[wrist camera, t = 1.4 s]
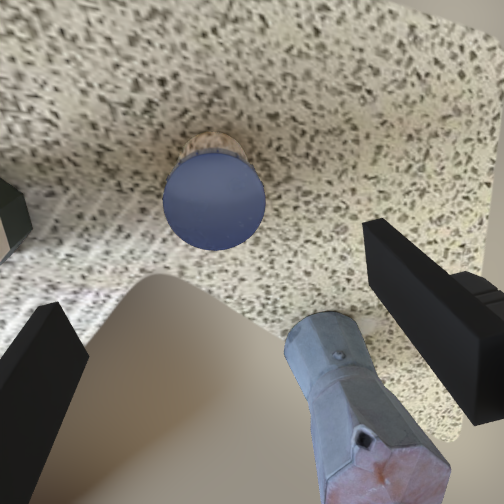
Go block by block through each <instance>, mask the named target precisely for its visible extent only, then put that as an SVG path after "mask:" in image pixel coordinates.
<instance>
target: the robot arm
mask: <svg viewBox="0 0 504 504" xmlns="http://www.w3.org/2000/svg"><path fill="white" fill-rule="evenodd" d="M362 226H363V235H364V244H365V254H366V263H367V273H368V282H369V286H370V287H371V289H372V290H373V291H374V293H375V294H376V295H377V297H378V298H379V299H380V301H381V302H382V303H383V305H384V306H385V307H386V309H387V310H388V311H389V313H390V314H391V315H392V317H393V318H394V319H395V321H396V322H397V323H398V325H399V326H400V327H401V329H402V330H403V331H404V333H405V334H406V336H407V337H408V338H409V340H410V341H411V342H412V344H413V345H414V346H415V348H416V349H417V350H418V352H419V353H420V354H421V356H422V357H423V358H424V360H425V361H426V362H427V364H428V365H429V366H430V368H431V369H432V370H433V372H434V373H435V374H436V376H437V377H438V378H439V380H440V381H441V382H442V384H443V385H444V386H445V388H446V389H447V390H448V392H449V393H450V395H451V396H452V397H453V399H454V400H455V401H456V403H457V404H458V405H459V407H460V408H461V409H462V411H463V412H464V413H465V415H466V416H467V417H468V419H469V420H470V421H471V423H472V424H473V425H474V426H477V425H481V424H485V423H489V422H493V421H497V420H501V419H504V293H503V292H502V291H501V290H499V291H498V289H497V287H495V286H494V285H492V284H491V283H490V282H489V281H487V280H486V279H485V278H483V277H480V276H477V275H475V274H472V273H470V272H467V271H464V272H460V273H456V274H452V275H449V274H448V273H447V272H446V271H445V270H443V269H442V268H441V267H440V266H439V265H438V264H436V263H435V262H434V261H433V260H432V259H430V258H429V257H428V256H427V255H426V254H425V253H423V252H422V251H421V250H420V249H419V248H418V247H416V246H415V245H414V244H413V243H412V242H410V241H409V240H408V239H407V238H406V237H405V236H403V235H402V234H401V233H400V232H399V231H398V230H396V229H395V228H394V227H393V226H392V225H390V224H389V223H388V222H387V221H386V220H385V219H383V218H380V219H376V220H372V221H368V222H364V223H362ZM88 359H89V355H88V353H87V351H86V350H85V348H84V346H83V344H82V343H81V341H80V339H79V337H78V336H77V334H76V332H75V330H74V329H73V327H72V325H71V323H70V322H69V320H68V318H67V316H66V314H65V313H64V311H63V309H62V307H61V306H60V304H59V302H54V303H50V304H46V305H42V306H38V307H37V309H36V310H35V312H34V313H33V314H32V316H31V317H30V318H29V320H28V321H27V323H26V324H25V325H24V327H23V328H22V330H21V331H20V332H19V334H18V335H17V337H16V338H15V339H14V341H13V342H12V343H11V345H10V346H9V348H8V349H7V350H6V352H5V353H4V355H3V356H2V357H1V359H0V504H28V503H29V501H30V499H31V496H32V494H33V492H34V489H35V487H36V484H37V482H38V479H39V477H40V474H41V472H42V470H43V467H44V465H45V463H46V460H47V457H48V455H49V453H50V450H51V448H52V446H53V443H54V441H55V438H56V436H57V434H58V431H59V429H60V426H61V424H62V421H63V419H64V417H65V414H66V412H67V409H68V407H69V405H70V402H71V400H72V397H73V395H74V393H75V390H76V388H77V385H78V383H79V381H80V378H81V376H82V373H83V371H84V368H85V366H86V364H87V361H88Z"/></svg>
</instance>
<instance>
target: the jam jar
mask: <svg viewBox="0 0 504 504" xmlns="http://www.w3.org/2000/svg"><path fill="white" fill-rule="evenodd" d="M217 147H218V148H222V149H227V150H230V151H233V152H235V153H236V152H238V154H239V155H240V156H242V157H243V158H245V159H246V160H247V161H248V159H247V156H246V154H245V152H244V150H243V148H242V147H241V146H240V144H239V143H238V142H237V141H236V140H235V139H233V138H232V137H230V136H228V135H226V134H224V133H220V132H204V133H201V134H198V135H196V136H194V137H193V138H191V139H190V140H189V141H188V142H187V143H186V144H185V145H184V147H183V148H182V150H181V152H180V154H179V157H178V160H177V163H178V162H179V159H182V158H184V157H185V156H187V155H188V154H190V153H192V152H194V151H196V149H198V150H200V149H205V148H217ZM248 162H249V161H248ZM177 163H176V164H177Z"/></svg>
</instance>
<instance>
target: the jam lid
mask: <svg viewBox="0 0 504 504" xmlns="http://www.w3.org/2000/svg"><path fill="white" fill-rule="evenodd" d="M166 181H167V183H166V186H165V189H164V194H163V198H162V200H163V209H164V213H165V217H166V219H167V221H168V224H169V225H170V227H171V228H172V230H173V231H174V232H175V234H177V235H178V236H179V237H180V238H181V239H182V240H183V241H185V242H186V243H188V244H190V245H192V246H194V247H197V248H200V249H204V250H213V251H217V250H225V249H229V248H232V247H235V246H237V245H239V244H241V243H243V242H244V241H246V240H247V239H248V238H250V237H251V236H252V235H253V233H254V232H255V231H256V230H257V228H258V227H259V225H260V223H261V221H262V219H263V216H264V212H265V206H266V200H265V192H264V188H263V187H264V185H263V183H262V181H260V179H259V177H258V174H257V173H256V171H255V168H254V166H253V165H251V164H250V163H249V162H248V161H247V160H246V159H245V158H243V157H242V156H240V155H239V154H238V152H236V153H235V152H233V151H230V150H227V149H222V148H218V147H217V148H205V149H200V150H198V149H196V151H194V152H192V153H190V154H188V155H187V156H185V157H184V158H182V159H179V162H178V163H177V164H176V166H175V167H174V168H173V170H172V171H171V173H170V175H168V177H167V179H166Z"/></svg>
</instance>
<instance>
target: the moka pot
mask: <svg viewBox="0 0 504 504" xmlns="http://www.w3.org/2000/svg"><path fill="white" fill-rule="evenodd" d="M284 355H285V358H286V360H287V362H288V364H289V366H290V368H291V370H292V372H293V374H294V376H295V378H296V380H297V382H298V384H299V386H300V387H301V390H302V392H303V394H304V396H305V398H306V399H307V401H308V403H309V410H310V413H311V434H312V441H313V448H314V455H315V462H316V468H317V475H318V483H319V490H320V497H321V504H441V503H442V501H443V498H444V494H445V491H446V488H447V484H448V481H449V477H450V473H451V467H450V464H449V463H448V462H447V460H446V459H445V458H444V457H443V455H442V454H441V453H440V451H439V450H438V449H437V448H436V446H435V445H434V444H433V443H432V441H431V440H430V439H429V438H428V436H427V435H426V434H425V433H424V431H423V430H422V429H421V428H420V426H419V425H418V424H417V423H416V421H415V420H414V419H413V418H412V416H411V415H410V414H409V412H408V411H407V410H406V409H405V407H404V406H403V405H402V404H401V402H400V401H399V400H398V399H397V397H396V396H395V395H394V394H393V393H392V392H390V391H389V390H388V389H387V388H386V387H385V386H384V384H383V383H382V381H381V380H380V378H379V377H378V375H377V372H376V370H375V367H374V365H373V362H372V360H371V357H370V354H369V352H368V349H367V346H366V344H365V341H364V339H363V337H362V334H361V332H360V330H359V328H358V326H357V324H356V322H355V321H354V320H352V319H351V318H349V317H347V316H345V315H343V314H340V313H338V312H321V313H316V314H314V315H310V316H308V317H306V318H304V319H303V320H301V321H300V322H299V323H297V324H296V325H295V326H294V327H293V328H292V330H291V331H290V332H289V334H288V336H287V339H286V343H285V348H284Z"/></svg>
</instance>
